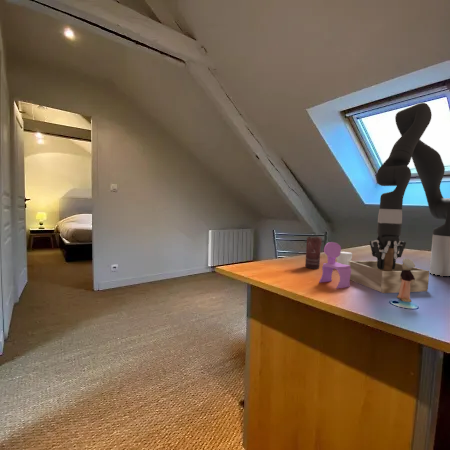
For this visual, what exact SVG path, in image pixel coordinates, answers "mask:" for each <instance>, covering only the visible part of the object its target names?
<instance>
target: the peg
mask: <svg viewBox="0 0 450 450" xmlns="http://www.w3.org/2000/svg"><path fill="white" fill-rule="evenodd" d="M381 250H384V249H381ZM381 254H382V252H381ZM393 254H394V248H388V251H387V253H386V254H385V257H384V269H380V270H382V271H392V267H393Z"/></svg>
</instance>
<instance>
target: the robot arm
mask: <svg viewBox="0 0 450 450" xmlns="http://www.w3.org/2000/svg"><path fill="white" fill-rule="evenodd" d="M432 117H433V115H432V110H431V107H430V106H429V104H427V103H426V102H420V103H419V102H418V103H416V104H414V105H412V106H409V107H406V108H404V109H402V110H400V111H398V112H396V113H395V116H394V118H395V124H396V127H397V130H398V132H399V133H400V136H399V138H398V139H397V140H396V142H395V143H394V144H393V146H392V148H391V151H390V153H389V155H388V158H387V159H386V160H385V161H384V162H383V163H382V165H381V166H379V168H378V170H377V171H376V175H375V176H376V177H375V180H376V183H377V184H378V185H379V186H381V187H395V188H394V189H393V190H391V191H388V192H384V193H382V194H381V195H380V199H379V210H378V216H377V224H376V225H377V227H376V234H377V238H376V239H375V240H370V241H369V245H370V250H371V255H372V257H375V258H377V260H376V261H377V267H378V269H384V257H385V254H386V253H387V251H388V248H394V254H393V267H392V269H394V268H395V264H396V263H397V262H396V261H397V260H398V259H399V258H402V256H403V253H404V250H405V248H406V245H407V242H406V241H402V240H400V236H401V234H402V225H403V203H404V202H403V201H404V197H405V196H404V195H405V193H406V190H407V187H408V186H409V182H410V180H411V177H412V171H411V169H410V166H408V165H409V164H410V162H411V160H412V163H413V165H414V168H415V170H416V172H417V175H418V177H419V179H420V182H421V185H422V188H423V190H424V194H425V198H426V201H427V205H428V210H429V212H430V214H431V216H432V217H433V218H435V220H445V222H444V224H442V225H441V226H438V227H434V228H433V229H432V239H431V241H432V242H431V253H430V261H429V262H430V264H429V272H430V273H431V274H430V273H429V274H430V275H433V274H435V275H434V276H437V275H440V276H439V277H443V276H450V198H449V197H448V198H447V197H446V198H445V197H444V196H443V194H442V191H441V184H442V180H443V178H444V175H445V171H446V168H445V165H444V162H443V159H442V156H441V154H440V153H439V152H438V151H437V150H436V149H434V148H433V147H431V146H430V145H428V144H427V143H425V142H424V141H422V140H421V138H422V136H423V135H424V133H425V132H426V130H427V128H428V127H429V124H430V123H431V121H432ZM381 249H384V250H381ZM381 252H382V254H381Z"/></svg>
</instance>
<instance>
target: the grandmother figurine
mask: <svg viewBox="0 0 450 450" xmlns="http://www.w3.org/2000/svg"><path fill="white" fill-rule="evenodd" d="M401 264H402V268H403V269H404V270H403V271H402V272H401V275H400V280H401V281H402V282H401V286H400V290H399V292H398V295H396V298H397V299H399V300H400V301H402V302H404V303H405V302H406V303H407V302H409V303H410V302H411V303H412V300H411V292H410V283H411V285H412V286H415V278H414V276H413V274H412V273H411V271H410V270H411V269H412V268H413V267H415V268H416V264H415V262H414V261H413V260H412V259H410V258H404V259H403V260H402V263H401Z"/></svg>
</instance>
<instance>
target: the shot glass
mask: <svg viewBox="0 0 450 450" xmlns="http://www.w3.org/2000/svg"><path fill="white" fill-rule="evenodd" d="M352 259H353V252H350V251H342V250H341V252H340V255H339V256H338V257H336V262H337V263H340V264H344V265H349V261H352Z"/></svg>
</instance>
